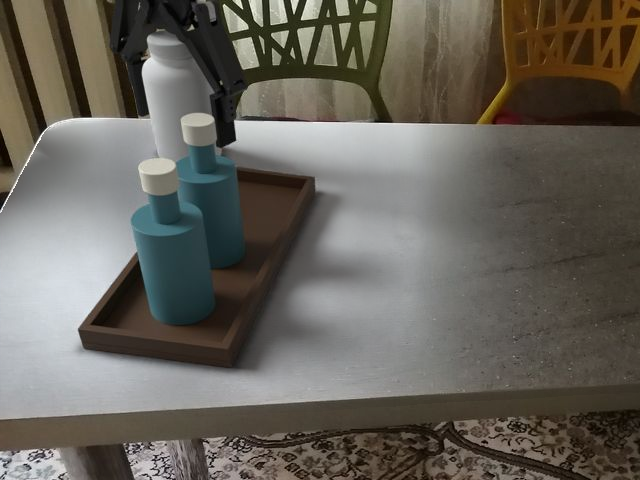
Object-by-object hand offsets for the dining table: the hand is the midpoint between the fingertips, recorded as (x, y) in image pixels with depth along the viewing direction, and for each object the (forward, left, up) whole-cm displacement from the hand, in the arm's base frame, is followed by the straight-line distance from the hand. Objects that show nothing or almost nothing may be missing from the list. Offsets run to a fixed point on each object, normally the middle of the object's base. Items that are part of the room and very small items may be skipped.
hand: (186, 128), depth 94 cm
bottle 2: (+19, -15, -3) cm, 24 cm away
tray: (+19, -15, -4) cm, 24 cm away
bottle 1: (+23, -24, -3) cm, 33 cm away
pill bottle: (0, 0, -4) cm, 4 cm away
